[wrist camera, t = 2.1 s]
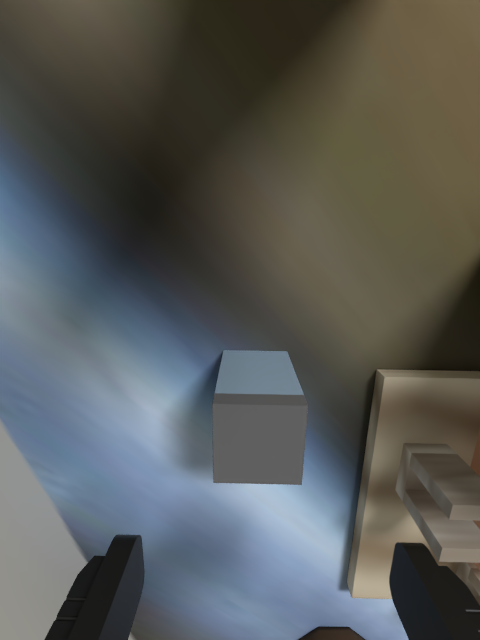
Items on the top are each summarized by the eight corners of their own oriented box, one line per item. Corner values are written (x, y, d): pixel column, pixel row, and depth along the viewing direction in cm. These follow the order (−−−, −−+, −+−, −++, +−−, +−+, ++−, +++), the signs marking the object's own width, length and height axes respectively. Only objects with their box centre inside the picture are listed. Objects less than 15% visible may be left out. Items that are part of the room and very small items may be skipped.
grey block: (223, 350, 20) (212, 403, 14) (286, 351, 20) (307, 405, 13) (223, 406, 21) (213, 482, 15) (283, 408, 21) (301, 484, 15)
